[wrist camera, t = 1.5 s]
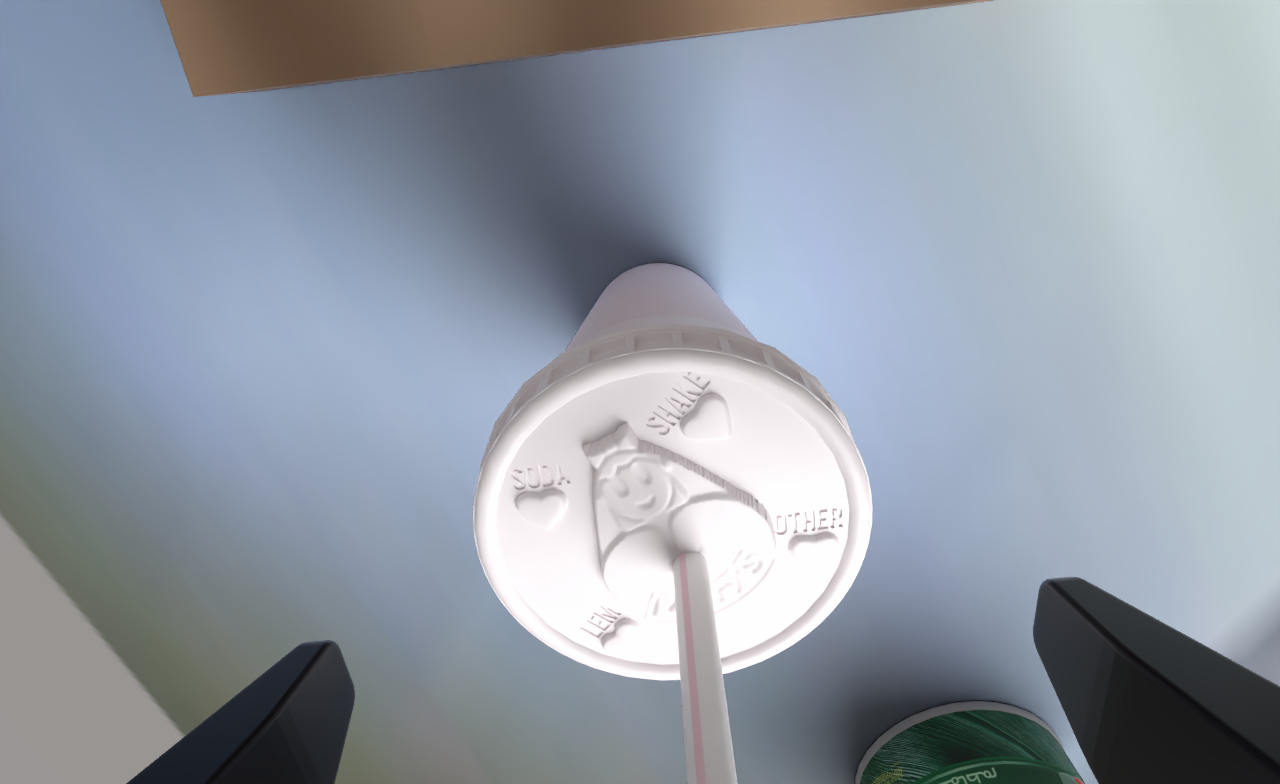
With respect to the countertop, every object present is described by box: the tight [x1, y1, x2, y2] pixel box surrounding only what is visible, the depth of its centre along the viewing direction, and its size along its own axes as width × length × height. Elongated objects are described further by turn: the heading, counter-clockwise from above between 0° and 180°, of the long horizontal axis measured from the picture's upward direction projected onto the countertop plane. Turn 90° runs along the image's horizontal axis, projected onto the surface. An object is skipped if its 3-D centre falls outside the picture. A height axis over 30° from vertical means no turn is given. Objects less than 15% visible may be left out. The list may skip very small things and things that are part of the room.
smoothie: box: [473, 263, 872, 784], centre depth 14 cm, size 6×6×14 cm
